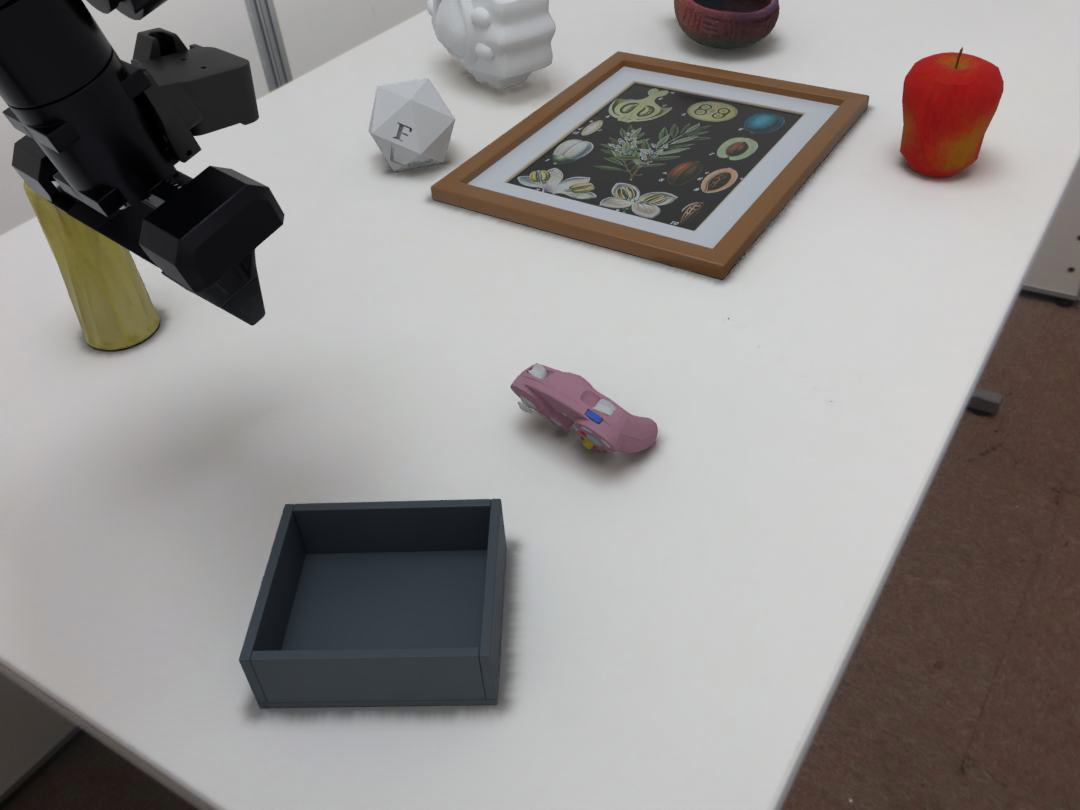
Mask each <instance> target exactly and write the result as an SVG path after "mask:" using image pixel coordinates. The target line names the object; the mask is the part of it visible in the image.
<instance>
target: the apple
mask: <svg viewBox="0 0 1080 810" xmlns="http://www.w3.org/2000/svg"><path fill="white" fill-rule="evenodd" d="M963 51H964V46H962V47H961V48H960V49H959V52H955V51H949V52H940V53H935V54H931V55H929V56H925V57H922V58H920V59H919V60H917V61H916V62H915V63H913V65H912V66H911V68H910V69H909V70H908V72H907V74H906V75H905V77H904V80H903V86H902V97H901V104H902V105H901V107H902V122H903V124H902V125H903V127H902V131H901V137H900V138H901V139H900V146H899V152H900V154H901V155H902V157H903V158H904V160H905V161H906V163H907V164H908V166H909V167H910V169H911V170H913V171H915V172H916V173H918V174H921V175H924V176H927V177H932V178H936V179H939V178H949V177H952V176H954V175H956V174H958V173H959V172H961V171H963V170H965V169H967V168H968V167H969V166H971V165H972V164H973V163H975V162H976V161H977V160H978V158H979V155H980V152H981V148H982V145H983V142H984V138H985V135H986V132H987V130H988V129H989V127H990V124H991V122H992V121H993V118H994V116H995V115H996V112H997V110H998V108H999V104H1000V102H1001V99H1002V97H1003V93H1004V84H1005V83H1004V82H1005V81H1004V78H1003V76H1002V73H1001V69H1000V68H999V66H997V65H996V64H994V63H992V61H991V62H990V61H989V60H986V59H984V58H982V57H980V56H976V55H974V54H969V53H964V52H963Z"/></svg>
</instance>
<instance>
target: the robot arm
mask: <svg viewBox="0 0 1080 810" xmlns="http://www.w3.org/2000/svg"><path fill="white" fill-rule="evenodd" d="M85 1H86V2H87V3H88V4H90V6H91V7H93V8H94V9H96V11H98V12H100V13H102V14H104V15H109V14H110V13H112V12H113V11H115V10H117V11H118V12H119V13H121V14H122V15H123V16H125V17H127V18H128V19H130V20H133V21H141V20H143V19H144V18H146V17H147V16H148V15H149V14H151V13H152V12H154V11H155V10H157V9H158V8H160V6H162V5H164V4H165V3H166V2H168V1H169V0H85ZM254 85H255V84H254V79H253V73H252V67H251V62H250V60H249V59H247V58H244V57H242V56H239V55H237V54H234V53H231V52H229V51H226V50H223V49H221V48H217V47H214V46H202V45H199V44H196V43H193V44H189V48H188V47H187V46H186V44H185V43H184V41H183V40H182V39H181V38H180V36H178V34H177V33H175V32H172V31H170V30H168V29H165V28H162V27H155V28H151V29H147V30H142V31H139V32H137V33H136V37H135V44H134V49H133V54H132V58H131V59H130V63H129V62H128V61H125V60H124V59H123V60H122V59H121V58H120V57H119V55H118V54H117V52H116V50H115V49H114V47H113V46H112V44H111V43H110V41H109V39H108V38H107V36H106V35H105V33H104V32H103V31H102V29H101V27H100V26H99V25H98V22H97V21H96V20H95V18H94V16H93V15H92V13H91V12H90V11H89V9H88V7H87V5H86V4H85V2H84V1H83V0H0V98H1V99H2V101H4V103H5V104H6V105H7V108H6V109H4V110H2V112H1V113H2V114H3V116H4V117H5V118H6V119H7V120H8V122H9V123H10V124H11V125H12V127H13V128H14V129H15V130H17V131H19V132H21V134H24V136H23V137H21V138H19V139H18V140H16V142H14V144H13V150H12V160H11V167H12V168H13V169H14V170H15V171H16V173H17V174H18V175H19V176H20V178H21V179H22V180H23V182H24V181H25V182H26V184H27V185H28V186H29V187H30V188H31V190H33V191H34V192H36V193H38V194H39V195H41V196H42V197H44V198H46V199H47V201H48V202H49V203H51V204H52V205H54V206H55V207H57V208H58V209H60V210H62V211H63V212H65V213H66V214H68V215H70V216H71V217H73V218H75V219H76V220H78V221H80V222H81V223H83V224H85V225H87V226H88V227H90V228H92V229H93V230H95V231H97V232H99V233H100V234H102V235H104V236H106V237H107V238H109V239H111V240H112V241H114V242H116V243H117V244H119V245H121V246H123V247H124V248H126V249H128V250H129V251H130V253H132V254H135V255H137V256H138V257H139V258H141V259H143V260H144V261H147V262H148V263H149V264H151V265H153V266H155V267H157V268H158V269H159V270H161V275H163V276H164V277H166V278H167V279H169V280H171V281H172V282H173V283H176V285H178V286H180V287H182V288H183V289H184V290H186V291H188V292H189V293H192V294H194V295H195V296H197V297H200V298H201V299H202V300H205V301H207V302H208V303H210V304H212V305H214V306H215V307H217V308H218V309H221V310H223V311H224V312H227V313H228V314H230V315H232V316H234V317H235V318H236V319H239V320H240V321H243V322H244V323H246V324H247V325H249V326H252V327H254V326H255V325H256V324H258V323H259V322H260V321H261V320H262V319H264V317H265V316H266V307H265V303H264V298H263V293H262V288H261V283H260V279H259V272H258V267H257V260H256V249H257V247H259V246H260V245H261V244H262V243H264V242H265V241H266V240H267V239H268V238H269V237H271V236H272V235H273V234H274V233H275V232H277V230H279V229H280V228H281V227H282V226H283V225H284V220H285V213H284V211H283V210H282V209H283V208H282V207H281V205H280V204H279V202H278V200H277V199H276V197H275V195H274V193H273V192H272V190H271V188H270V186H268V185H265V184H263V183H261V182H260V181H257V180H255V179H253V178H252V177H249V176H247V175H245V174H243V173H241V172H239V171H237V170H235V169H233V168H228V167H221V166H215V165H208V166H206V168H204V169H203V170H202V171H200V172H199V174H197V175H196V176H195V177H191V176H189V175H187V174H185V173H183V172H182V171H180V170H178V169H177V168H176V167H175V166H176V165H177V164H178V163H179V162H181V163H183V164H184V163H185V164H186V163H187V162H188V161H189V160H191V159H193V157H194V156H196V155H197V154H199V153H200V152H201V151H202V150H203V149H202V147H201V146H200V144H199V142H197V141H198V140H197V139H196V138H195V137H200V136H205V135H208V134H210V133H214V132H217V131H220V130H223V129H227V128H229V127H234V126H236V125H240V124H241V125H243V126H246V125H252V124H253V123H255V122H257V121H258V120H259V119H260V114H259V108H258V101H257V96H256V91H255V86H254Z"/></svg>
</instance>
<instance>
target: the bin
mask: <svg viewBox="0 0 1080 810" xmlns="http://www.w3.org/2000/svg"><path fill="white" fill-rule="evenodd" d="M505 530H506V529H505V521H504V513H503V505H502V498H474V499H473V498H472V499H471V498H470V499H469V498H468V499H435V500H434V499H429V500H428V499H427V500H393V501H389V500H388V501H385V500H384V501H353V502H352V501H348V502H318V503H317V502H314V503H313V502H312V503H311V502H310V503H309V502H308V503H307V502H305V503H285V504H284V505H283V510H282V513H281V516H280V520H279V523H278V526H277V529H276V532H275V536H274V540H273V542H272V546H271V550H270V553H269V557H268V560H267V563H266V566H265V570H264V573H263V577H262V580H261V584H260V587H259V590H258V594H257V596H256V601H255V604H254V607H253V609H252V610H253V611H252V614H251V617H250V620H249V624H248V628H247V630H246V634H245V637H244V640H243V644H242V648H241V651H240V654H239V658H238V662H239V664H240V666H241V669H242V671H243V673H244V676H245V678H246V680H247V683H248V685H249V687H250V689H251V692H252V694H253V696H254V699H255V701H256V703H257V705H258V708H261V709H262V708H263V709H265V708H266V709H267V708H270V709H271V708H329V707H330V708H332V707H333V708H338V707H388V706H389V707H395V706H396V707H399V706H400V707H401V706H402V707H403V706H464V705H466V706H473V705H474V706H475V705H498V701H499V686H500V670H501V669H500V667H501V652H502V636H503V635H502V634H503V617H504V600H505V584H506V570H507V569H506V568H507V567H506V566H507V553H508V552H507V551H508V550H507V549H508V547H507V537H506V531H505Z"/></svg>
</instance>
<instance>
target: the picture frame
mask: <svg viewBox="0 0 1080 810" xmlns="http://www.w3.org/2000/svg"><path fill="white" fill-rule="evenodd" d="M869 102H870V95H868V94H863V93H859V92H853V91H847V90H841V89H835V88H829V87H824V86H818V85H812V84H808V83H807V84H806V83H802V82H801V83H800V82H794V81H789V80H784V79H778V78H774V77H773V78H772V77H767V76H761V75H755V74H750V73H745V72H739V71H733V70H727V69H722V68H715V67H711V66H705V65H699V64H692V63H688V62H682V61H676V60H672V59H671V60H670V59H665V58H659V57H653V56H648V55H642V54H637V53H630V52H624V51H620V50H619V51H616V52H615V53H613V54H612V55H610V56H609V57H608V58H607V59H605V60H604V61H602V62H601V63H599V64H598V65H597V66H595V67H594V68H593V69H591V70H590V71H588V72H587V73H586V74H584V75H583V76H582V77H580V78H579V79H577V80H576V81H574V82H573V83H572V84H570V85H568V87H566V88H565V89H563V90H562V91H561V92H559V93H558V94H557V95H555V96H554V97H552V98H551V99H550V100H549V101H546V102H545V103H544V104H543V105H542V106H540V107H538V108H537V109H536V110H535V111H532V113H530V114H529V115H528V116H526V117H524V118H523V119H522V120H521V121H519V122H518V123H517V124H515V125H513V126H512V127H511V128H509V129H508V130H507V131H506V132H504V133H503V134H501V135H500V136H499V137H497V138H496V139H494V140H493V141H492V142H490V143H489V144H487V145H485V147H484V148H482V149H481V150H479V151H478V152H476V153H475V154H474V155H472V156H471V157H469V158H467V160H465V161H464V162H462V163H461V164H460V165H458V166H457V167H456V168H454V169H453V170H452V171H450V172H449V173H448V174H446V175H444V176H443V177H442V178H441V179H439V180H438V181H437V182H435V183H434V184H432V185H430V193H431V198H432V200H434V201H437V202H441V203H445V204H448V205H453V206H455V207H459V208H463V209H467V210H469V211H473V212H476V213H477V212H478V213H481V214H483V215H489V216H491V217H496V218H499V219H502V220H506V221H510V222H514V223H517V224H520V225H524V226H528V227H532V228H535V229H538V230H542V231H546V232H550V233H553V234H557V235H559V236H564V237H567V238H572V239H574V240H577V241H582V242H585V243H590V244H593V245H596V246H600V247H603V248H607V249H612V250H614V251H618V252H622V253H624V254H625V253H626V254H629V255H633V256H636V257H640V258H643V259H646V260H650V261H654V262H658V263H661V264H665V265H668V266H672V267H676V268H679V269H683V270H687V271H690V272H693V273H698V274H701V275H704V276H708V277H711V278H715V279H719V280H723V279H724V278H726V276H727V275H728V274H729V272H730V271H731V270H732V269H733V268H734V266H736V264H737V263H738V262H739V260H740V259H741V258H742V257H743V256H744V255H745V254H746V252H747V251H748V250H749V249H750V248H751V246H752V245H753V244H754V243H755V242H756V241H757V239H758V238H759V237H760V236H761V235H762V234H763V232H764V231H765V230H766V229H767V227H769V225H770V224H771V222H773V220H775V218H776V216H777V215H778V214H779V213H781V211H782V210H783V209H784V207H785V206H786V205H787V204H788V202H789V201H790V200H791V199H792V198H793V197H794V195H795V194H796V193H797V192H798V191H799V189H801V187H802V186H803V184H805V182H806V181H807V180H808V179H809V177H810V176H811V175H812V174H813V173H814V172H815V171H816V170H817V168H818V167H819V166H820V164H822V162H823V161H824V160H825V159H826V158H827V156H828V155H829V154H830V153H831V152H832V150H833V149H834V148H836V146H837V144H838V143H839V142H840V141H841V139H843V137H844V136H845V135H846V134H847V133H848V132H849V130H850V129H851V128H852V127H853V125H854V124H855V123H856V122H857V121H858V120H859V118H860V117H861V116H862V115H863V114H864V112H865V111H866V110H867V109H868V107H869Z"/></svg>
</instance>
